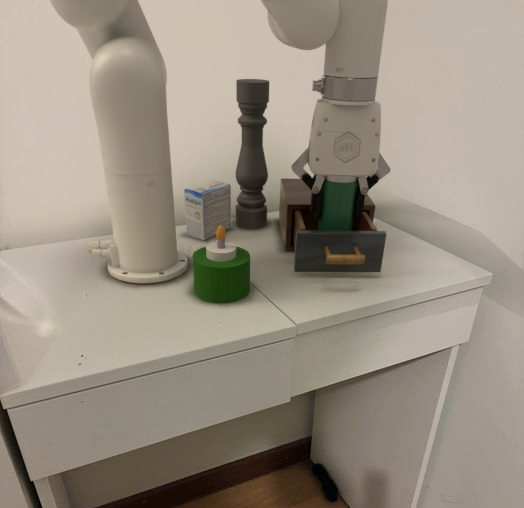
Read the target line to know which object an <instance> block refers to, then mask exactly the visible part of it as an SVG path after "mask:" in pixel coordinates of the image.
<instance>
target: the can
mask: <svg viewBox="0 0 524 508" xmlns="http://www.w3.org/2000/svg"><path fill="white" fill-rule="evenodd" d="M356 187H357V177H349V176H336V177H331V176H326V177H325V179H324V182H323V184H322V187H321V193H322V195H323V197H322V208H321V218H319V221H318V230H321V231H351V228H352V220H353V211H354V203H355V195H356Z"/></svg>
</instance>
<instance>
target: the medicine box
mask: <svg viewBox="0 0 524 508" xmlns="http://www.w3.org/2000/svg"><path fill="white" fill-rule="evenodd" d="M231 186H232V185H231V184H230V183H227V182H224V181H221V180H217V179H211V180H207V181H204V182H200V183H198V184H194V185H192V186H188V187H186V188H184V190H183V192H184V210H185V212H184V213H185V226H186V227H185V230H186V235H187V236H189V237H192V238H195V239H198V240H201V241H206V240H207V239H209V238H212V237H214V236H216V230H217V228H218V226H220V225H222V226H223V227H224V228H225V231H227V230H230V229H231V227H232V221H231V220H232V219H231V216H232V215H231V214H232V212H231V211H232V209H231V207H232V206H231V205H232V200H231V199H232V197H231V196H232V195H231V194H232V192H231V191H232V190H231V189H232V187H231Z"/></svg>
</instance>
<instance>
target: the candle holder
mask: <svg viewBox="0 0 524 508" xmlns="http://www.w3.org/2000/svg"><path fill="white" fill-rule="evenodd" d="M235 82H236V84H235V85H236V88H235V90H236V93H235V95H236V98H235V99H236V103H237V107H238V109H239V112H240V114H241V115H240V116H239V117H238V118H237V124H239V125H240V128H241V144H240V150H239V154H238V155H239V156H238V159H237V164H236V169H235V180H236V182H237V184H238V185H239V186H240V187H239V190H240V191H241V192H239V194H238V196H237V197H236V203H237V204H236V205H235V225H236V226H237V227H238V228H240V229H241V228H242V229H247V230H257V229H263V228H265V227H266V226H267V224H268V205H266V202H267V197H266V196H265V195H264V193H263V191H264V186H265V185H266V183H267V181H268V179H269V172H268V166H267V162H266V155H265V150H264V146H263V145H264V128H265V126H266V125H267V123H268V119H267V118H266V117H265V116H264V114H265V112H266V109H267V108H268V103H269V102H270V80H267V79H261V78H260V79H259V78H241V79H240V78H239V79H236V81H235Z"/></svg>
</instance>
